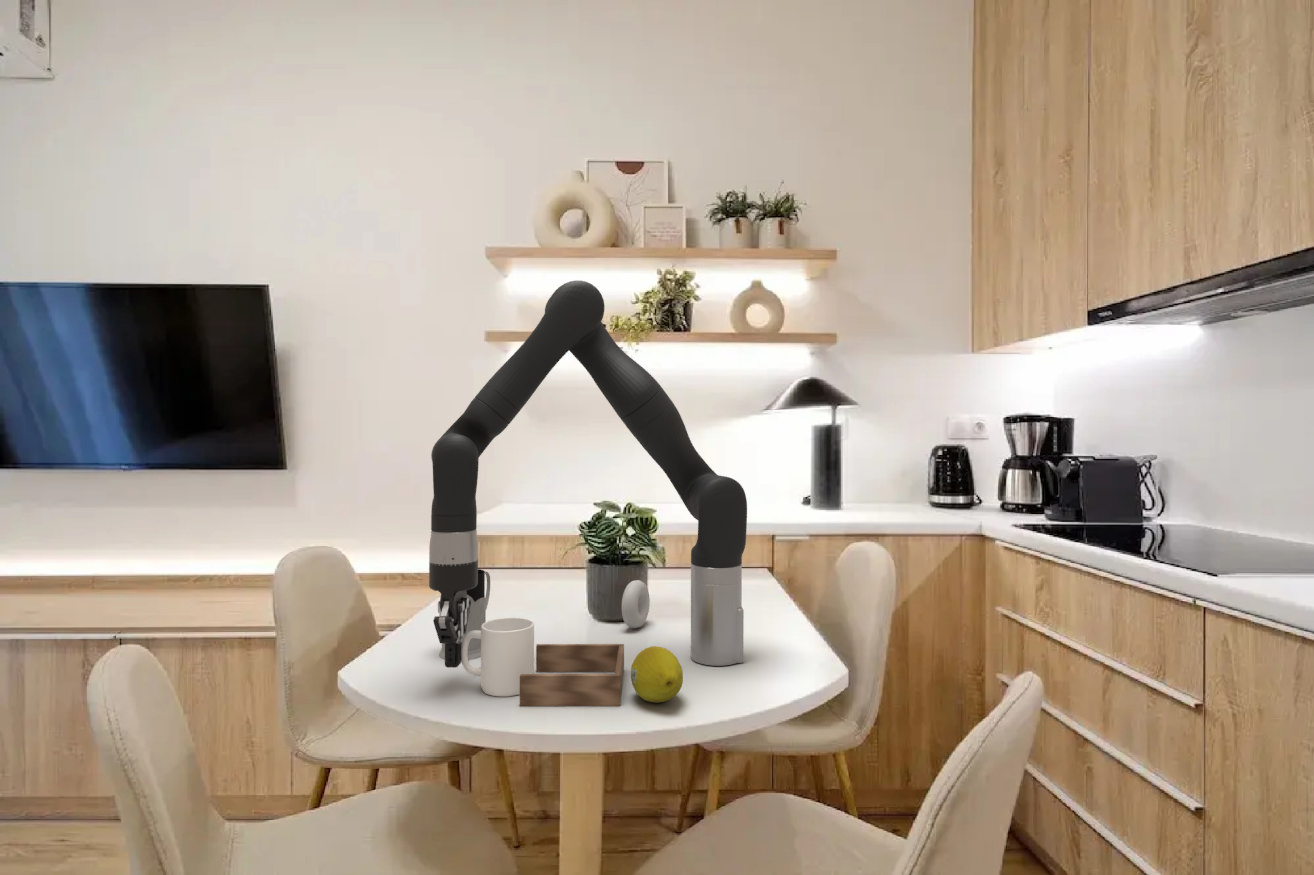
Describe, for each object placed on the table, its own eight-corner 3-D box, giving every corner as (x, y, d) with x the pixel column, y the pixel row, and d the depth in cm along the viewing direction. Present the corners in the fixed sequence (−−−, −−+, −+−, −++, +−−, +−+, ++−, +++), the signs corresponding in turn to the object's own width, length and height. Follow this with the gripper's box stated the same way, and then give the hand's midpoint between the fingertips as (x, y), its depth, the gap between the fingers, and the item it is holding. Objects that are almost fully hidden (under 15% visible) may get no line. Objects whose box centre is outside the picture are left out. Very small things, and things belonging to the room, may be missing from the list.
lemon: (627, 689, 108) (627, 639, 108) (675, 687, 110) (676, 637, 110) (635, 717, 98) (635, 661, 98) (688, 714, 99) (688, 659, 99)
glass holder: (429, 658, 123) (429, 575, 123) (469, 636, 137) (469, 562, 137) (473, 662, 121) (473, 578, 121) (509, 639, 135) (509, 563, 135)
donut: (637, 621, 149) (637, 575, 149) (652, 622, 148) (652, 576, 148) (618, 633, 140) (618, 584, 140) (633, 635, 138) (634, 585, 138)
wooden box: (624, 670, 117) (624, 644, 117) (620, 705, 102) (620, 675, 102) (536, 670, 117) (537, 644, 117) (519, 706, 102) (519, 675, 102)
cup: (524, 698, 104) (524, 632, 104) (449, 694, 106) (450, 629, 106) (540, 679, 113) (540, 618, 113) (471, 676, 114) (471, 615, 114)
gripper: (466, 566, 103) (465, 680, 103) (487, 551, 116) (486, 653, 116) (416, 565, 103) (415, 680, 103) (443, 551, 116) (442, 652, 116)
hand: (453, 665), depth 109 cm, fingers closed
